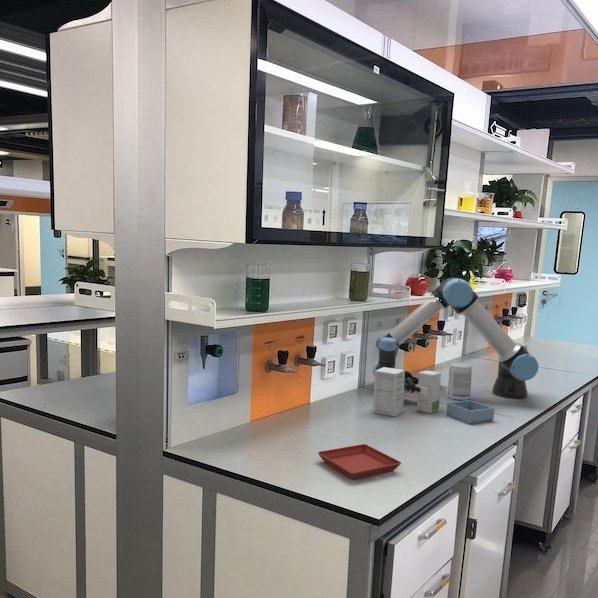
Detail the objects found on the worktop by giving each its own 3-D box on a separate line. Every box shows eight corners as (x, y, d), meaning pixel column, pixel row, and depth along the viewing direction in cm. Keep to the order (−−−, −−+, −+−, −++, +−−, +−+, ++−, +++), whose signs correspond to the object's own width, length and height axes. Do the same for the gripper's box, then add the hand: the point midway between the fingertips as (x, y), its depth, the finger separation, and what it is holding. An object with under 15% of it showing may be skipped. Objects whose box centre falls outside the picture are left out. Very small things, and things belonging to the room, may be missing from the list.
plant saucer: (316, 461, 174) (316, 451, 174) (364, 453, 183) (364, 442, 183) (351, 484, 159) (352, 473, 158) (402, 473, 168) (402, 462, 168)
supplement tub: (474, 399, 255) (477, 366, 253) (459, 401, 249) (462, 368, 248) (457, 394, 263) (459, 362, 261) (442, 396, 257) (445, 363, 256)
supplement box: (403, 411, 231) (406, 369, 229) (395, 417, 223) (397, 373, 221) (381, 407, 235) (383, 366, 234) (372, 412, 227) (374, 370, 226)
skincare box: (430, 414, 229) (433, 375, 227) (415, 410, 233) (417, 372, 231) (439, 409, 235) (442, 372, 234) (424, 406, 239) (426, 369, 238)
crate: (469, 412, 234) (470, 399, 234) (493, 420, 223) (494, 408, 223) (446, 415, 228) (447, 402, 227) (470, 424, 217) (471, 411, 217)
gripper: (419, 384, 254) (456, 397, 235) (379, 389, 244) (414, 402, 224) (420, 367, 254) (457, 379, 234) (380, 371, 243) (415, 383, 223)
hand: (436, 390), depth 229 cm, fingers closed on skincare box, 9 cm apart
